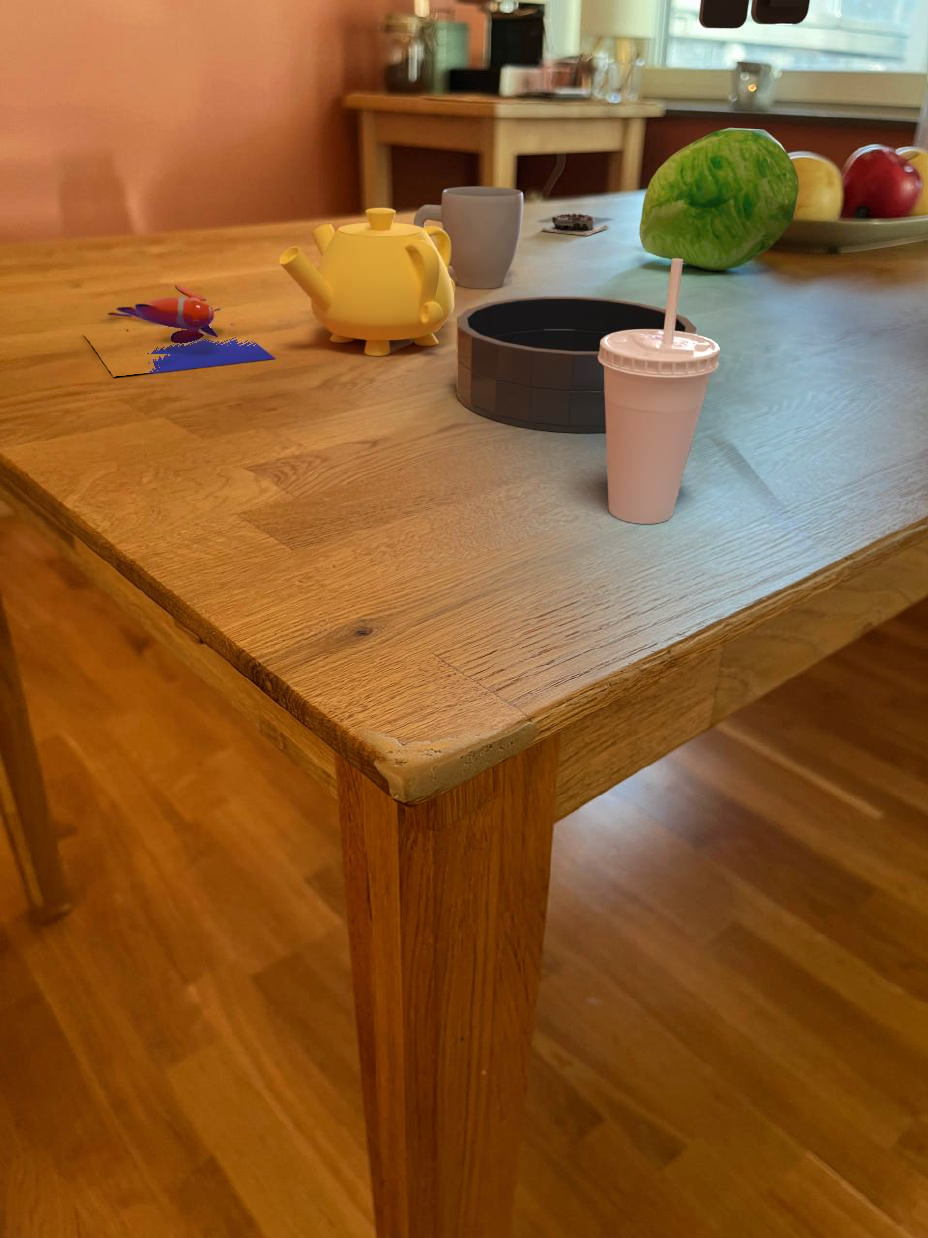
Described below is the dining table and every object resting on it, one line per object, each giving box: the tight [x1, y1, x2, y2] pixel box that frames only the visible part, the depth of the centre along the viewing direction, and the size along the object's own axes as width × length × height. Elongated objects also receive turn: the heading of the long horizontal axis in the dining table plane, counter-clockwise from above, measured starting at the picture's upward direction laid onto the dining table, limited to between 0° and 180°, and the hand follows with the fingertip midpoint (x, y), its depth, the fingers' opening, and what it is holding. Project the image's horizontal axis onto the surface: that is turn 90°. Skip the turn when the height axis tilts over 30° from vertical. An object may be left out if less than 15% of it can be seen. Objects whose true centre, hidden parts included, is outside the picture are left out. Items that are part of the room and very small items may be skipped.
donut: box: [540, 213, 610, 237], centre depth 144 cm, size 8×8×2 cm
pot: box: [455, 295, 697, 434], centre depth 75 cm, size 18×18×6 cm
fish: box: [107, 284, 221, 344], centre depth 85 cm, size 13×5×9 cm
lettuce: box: [638, 127, 800, 271], centre depth 118 cm, size 17×20×17 cm
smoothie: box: [598, 258, 721, 525], centre depth 53 cm, size 6×6×14 cm
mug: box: [413, 185, 524, 290], centre depth 109 cm, size 12×9×10 cm
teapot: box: [278, 207, 456, 357], centre depth 86 cm, size 14×14×11 cm
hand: (746, 26), depth 45 cm, fingers open, 8 cm apart
